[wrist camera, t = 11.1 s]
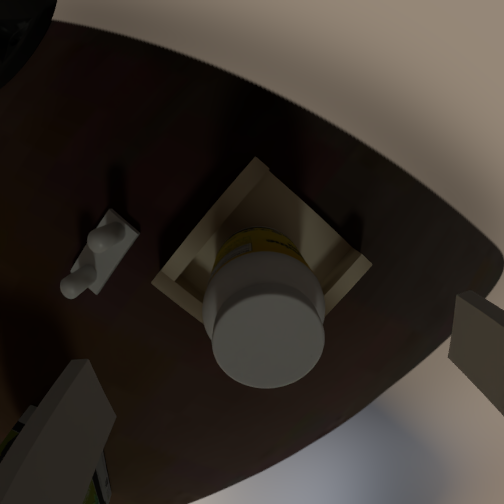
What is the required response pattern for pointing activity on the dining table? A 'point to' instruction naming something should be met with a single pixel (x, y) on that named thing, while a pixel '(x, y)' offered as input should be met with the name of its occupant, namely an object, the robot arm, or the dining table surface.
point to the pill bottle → (263, 309)
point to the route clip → (100, 255)
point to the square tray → (269, 215)
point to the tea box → (99, 485)
